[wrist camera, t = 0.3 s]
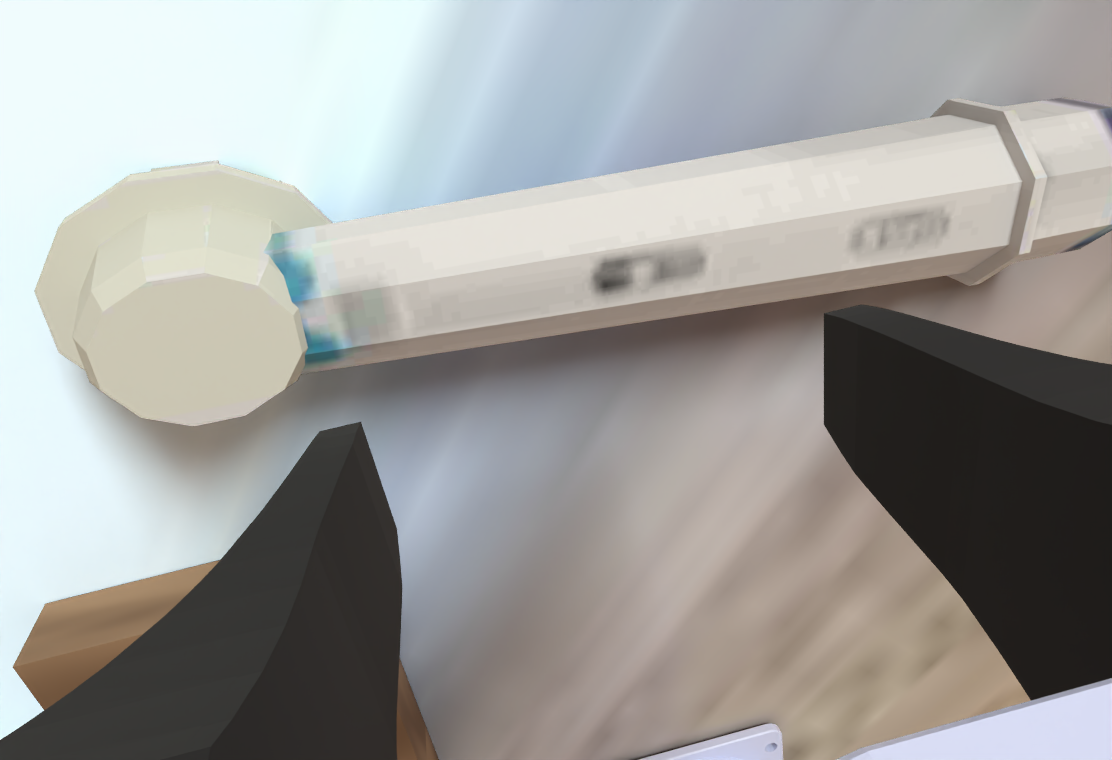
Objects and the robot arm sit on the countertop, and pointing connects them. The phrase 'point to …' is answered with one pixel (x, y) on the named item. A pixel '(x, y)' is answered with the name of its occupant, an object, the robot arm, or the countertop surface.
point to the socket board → (121, 618)
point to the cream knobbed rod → (547, 251)
